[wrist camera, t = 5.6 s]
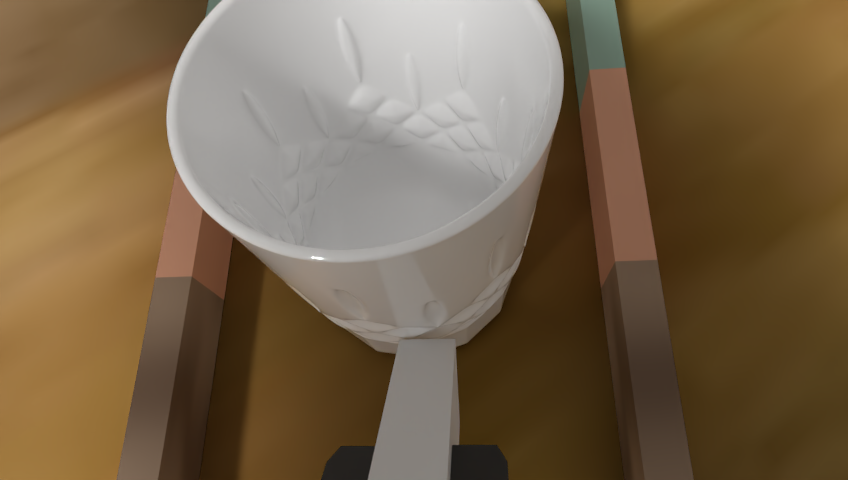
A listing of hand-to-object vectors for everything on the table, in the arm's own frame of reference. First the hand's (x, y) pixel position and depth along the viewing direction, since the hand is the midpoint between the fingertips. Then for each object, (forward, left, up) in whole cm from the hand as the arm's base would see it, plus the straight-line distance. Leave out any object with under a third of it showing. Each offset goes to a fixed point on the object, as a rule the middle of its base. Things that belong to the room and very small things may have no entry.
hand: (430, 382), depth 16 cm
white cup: (-4, +2, -3) cm, 6 cm away
